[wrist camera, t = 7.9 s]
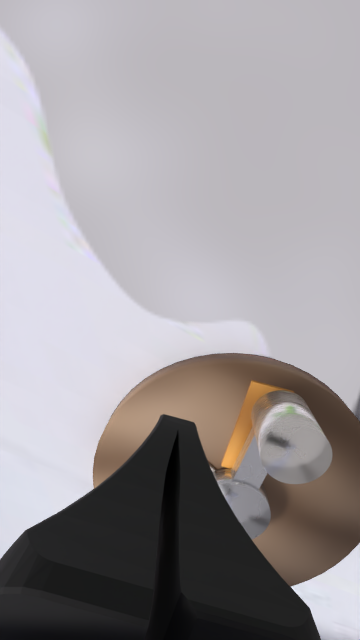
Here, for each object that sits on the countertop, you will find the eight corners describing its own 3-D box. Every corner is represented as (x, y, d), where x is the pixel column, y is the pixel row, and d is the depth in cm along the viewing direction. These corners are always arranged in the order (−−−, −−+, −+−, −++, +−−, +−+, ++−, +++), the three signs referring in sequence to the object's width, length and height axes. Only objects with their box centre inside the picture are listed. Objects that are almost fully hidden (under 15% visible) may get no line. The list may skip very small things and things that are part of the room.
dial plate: (307, 595, 23) (315, 623, 21) (83, 533, 23) (73, 556, 21) (419, 398, 18) (441, 415, 16) (127, 319, 18) (119, 328, 16)
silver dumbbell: (250, 532, 19) (261, 604, 16) (186, 511, 19) (181, 578, 16) (325, 396, 16) (360, 445, 12) (248, 370, 16) (261, 412, 12)
